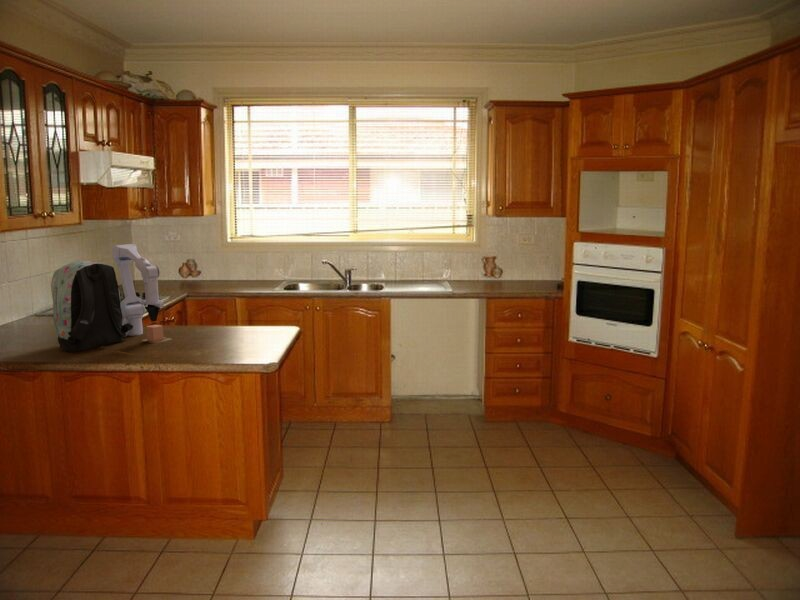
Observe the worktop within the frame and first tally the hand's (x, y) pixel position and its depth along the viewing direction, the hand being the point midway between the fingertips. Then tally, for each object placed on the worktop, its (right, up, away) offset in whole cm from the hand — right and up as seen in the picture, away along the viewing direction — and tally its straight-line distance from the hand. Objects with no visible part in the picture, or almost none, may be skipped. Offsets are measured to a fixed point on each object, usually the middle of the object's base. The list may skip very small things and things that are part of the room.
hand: (153, 321), depth 304 cm
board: (+1, -9, +3) cm, 10 cm away
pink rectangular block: (0, -9, +2) cm, 9 cm away
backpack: (-28, -11, -4) cm, 30 cm away
